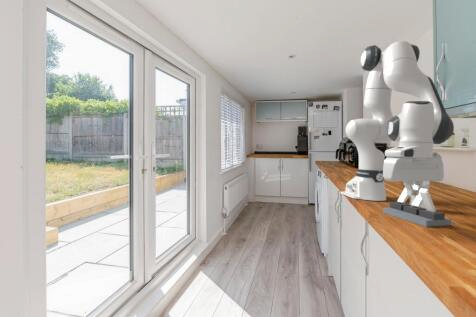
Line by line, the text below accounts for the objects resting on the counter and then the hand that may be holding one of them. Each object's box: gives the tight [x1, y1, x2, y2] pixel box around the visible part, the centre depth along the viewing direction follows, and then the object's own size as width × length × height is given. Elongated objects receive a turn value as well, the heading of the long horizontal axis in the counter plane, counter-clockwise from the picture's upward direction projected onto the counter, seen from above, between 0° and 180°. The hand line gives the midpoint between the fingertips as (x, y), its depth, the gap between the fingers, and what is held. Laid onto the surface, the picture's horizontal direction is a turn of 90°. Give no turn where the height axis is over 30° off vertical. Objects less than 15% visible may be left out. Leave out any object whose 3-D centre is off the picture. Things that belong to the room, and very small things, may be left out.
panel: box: [382, 201, 452, 228], centre depth 87 cm, size 17×10×4 cm, turn 13°
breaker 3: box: [419, 191, 437, 212], centre depth 81 cm, size 2×1×7 cm, turn 13°
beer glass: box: [408, 181, 431, 209], centre depth 102 cm, size 7×7×15 cm
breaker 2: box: [412, 188, 430, 208], centre depth 88 cm, size 2×1×7 cm
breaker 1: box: [397, 186, 413, 204], centre depth 93 cm, size 2×1×7 cm
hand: (412, 195), depth 79 cm, fingers closed
